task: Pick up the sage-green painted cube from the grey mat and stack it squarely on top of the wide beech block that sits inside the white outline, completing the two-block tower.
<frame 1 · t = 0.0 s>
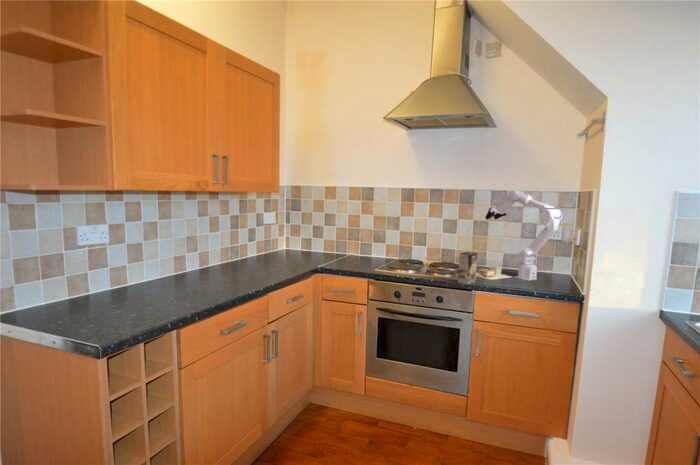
hand: (490, 218, 254), 32 cm above the countertop, tool tilted 50°, fingers open, 7 cm apart
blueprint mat: (491, 276, 237), on the countertop
beech base block: (486, 276, 234), resting on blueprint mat
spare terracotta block: (463, 273, 241), on the countertop
coffee box: (466, 282, 219), on the countertop
green cube: (495, 273, 242), resting on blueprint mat
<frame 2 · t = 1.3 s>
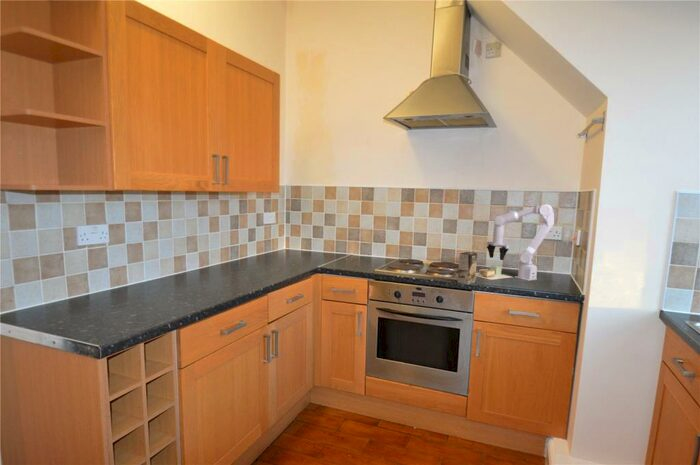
hand: (496, 258, 241), 9 cm above the countertop, tool pointing down, fingers open, 7 cm apart
nothing on the countertop moved.
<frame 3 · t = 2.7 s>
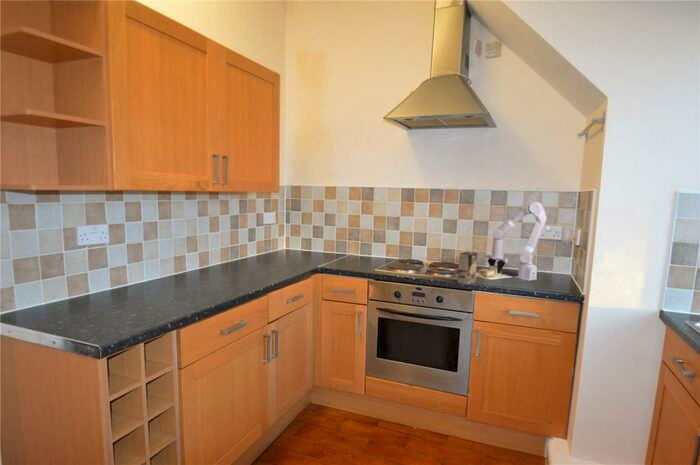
hand: (495, 272, 242), 1 cm above the countertop, tool pointing down, fingers closed on green cube, 4 cm apart
green cube: (495, 273, 242), resting on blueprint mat, touching gripper
everything else where it was.
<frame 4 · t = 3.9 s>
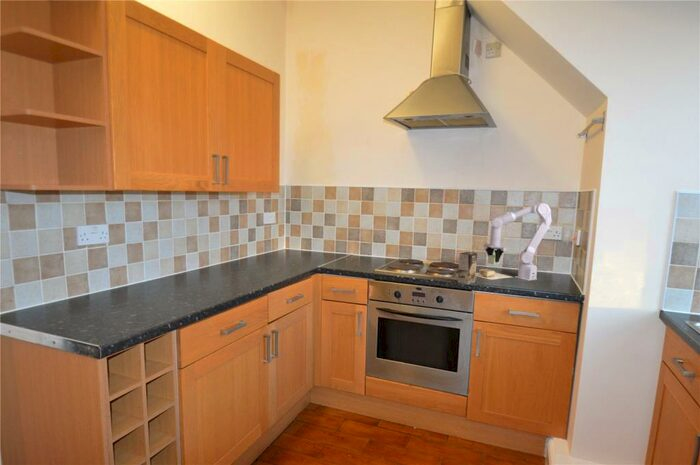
hand: (493, 261, 238), 8 cm above the countertop, tool pointing down, fingers closed on green cube, 4 cm apart
green cube: (493, 263, 239), point 7 cm above the countertop, touching gripper
everything else where it was.
when the fingers open (6 cm above the countertop, at t = 5.3 s): green cube stays where it is, resting on beech base block.
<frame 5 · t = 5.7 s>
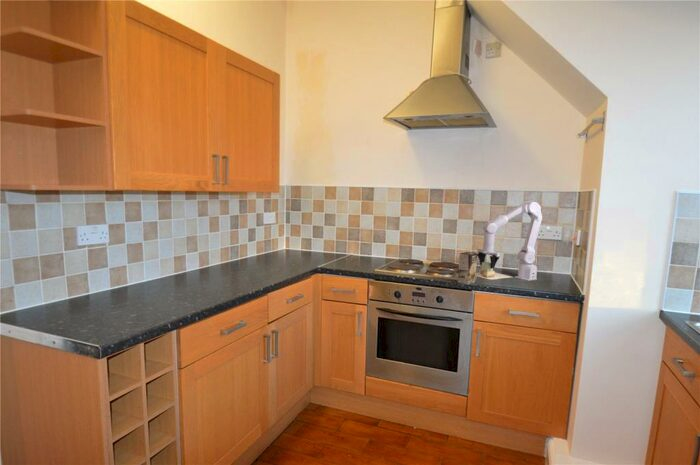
hand: (487, 267, 233), 6 cm above the countertop, tool pointing down, fingers open, 7 cm apart
beech base block: (486, 276, 234), resting on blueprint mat, touching green cube
green cube: (487, 270, 233), point 4 cm above the countertop, touching beech base block
everything else where it was.
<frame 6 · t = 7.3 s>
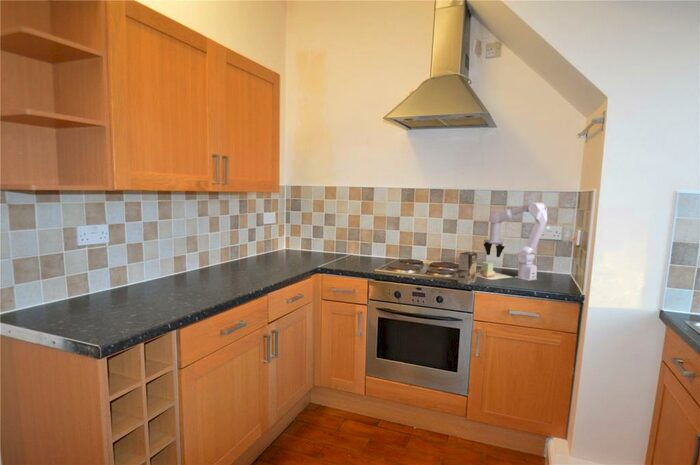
hand: (493, 256, 248), 10 cm above the countertop, tool pointing down, fingers open, 7 cm apart
nothing on the countertop moved.
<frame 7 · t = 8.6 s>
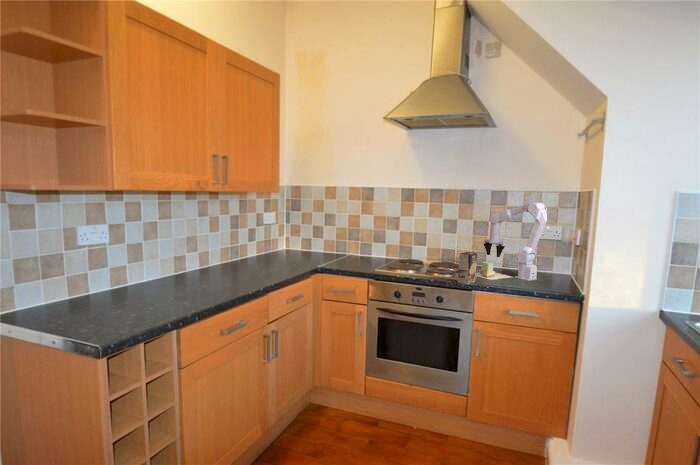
hand: (493, 256, 248), 10 cm above the countertop, tool pointing down, fingers open, 7 cm apart
nothing on the countertop moved.
at the end: green cube 0.2 cm off-centre on the beech base block, point 3.5 cm above the beech base block's base; green cube tilted 0°; beech base block moved 0.0 cm from its start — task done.
